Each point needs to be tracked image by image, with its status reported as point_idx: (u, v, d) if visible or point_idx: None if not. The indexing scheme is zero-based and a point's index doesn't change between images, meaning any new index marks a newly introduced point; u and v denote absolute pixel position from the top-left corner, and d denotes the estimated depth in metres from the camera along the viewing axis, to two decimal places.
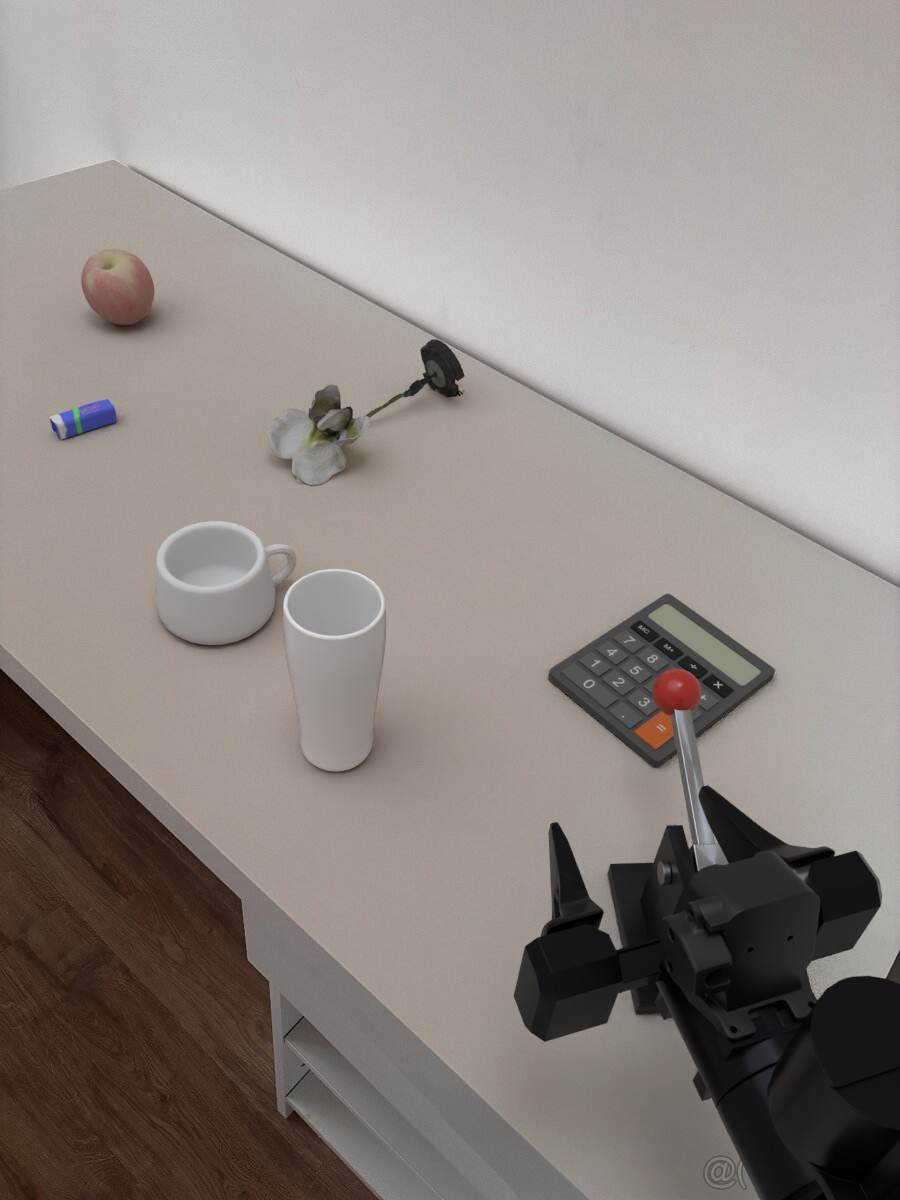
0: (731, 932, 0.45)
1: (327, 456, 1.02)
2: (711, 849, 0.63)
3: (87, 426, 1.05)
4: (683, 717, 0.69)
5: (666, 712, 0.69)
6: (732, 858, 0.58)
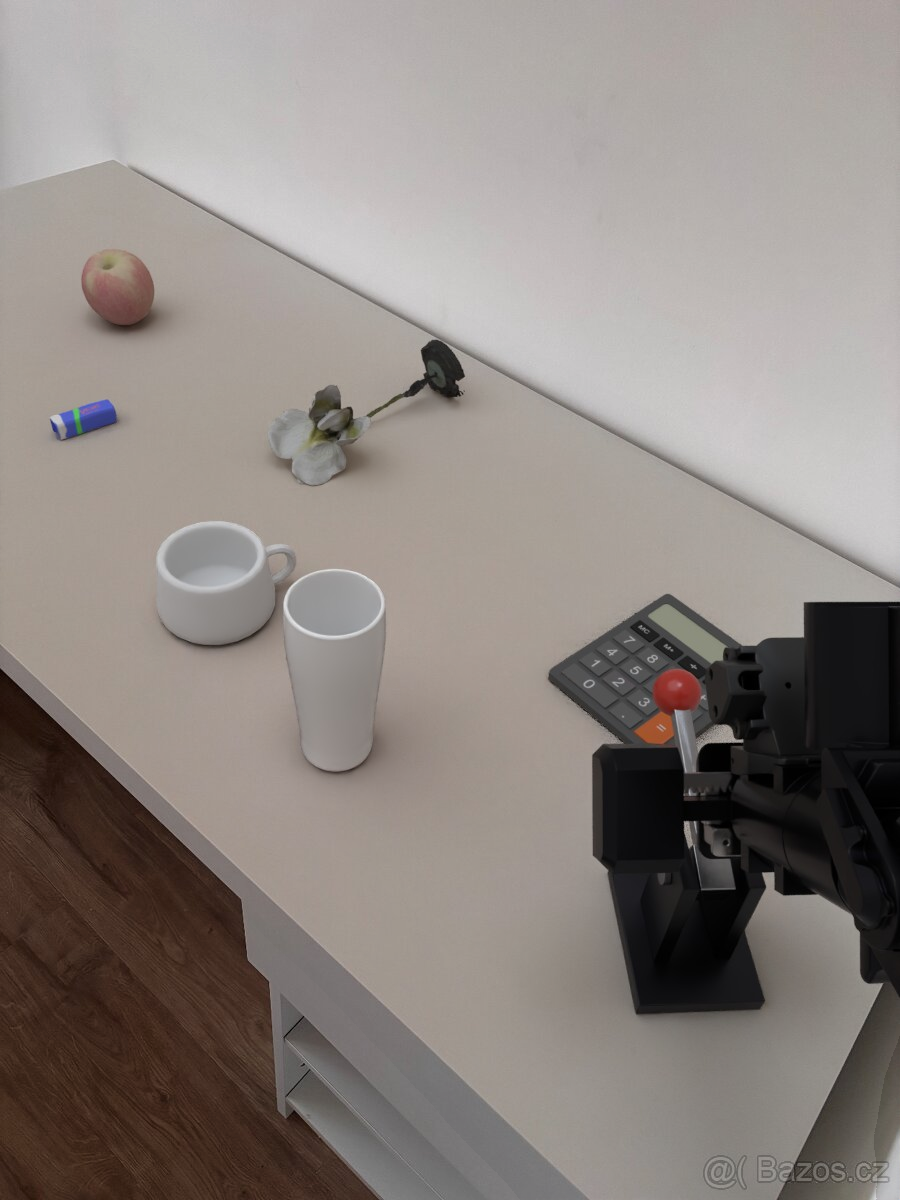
0: (763, 658, 0.50)
1: (327, 456, 1.02)
2: None
3: (87, 426, 1.05)
4: (683, 717, 0.69)
5: (666, 712, 0.69)
6: None
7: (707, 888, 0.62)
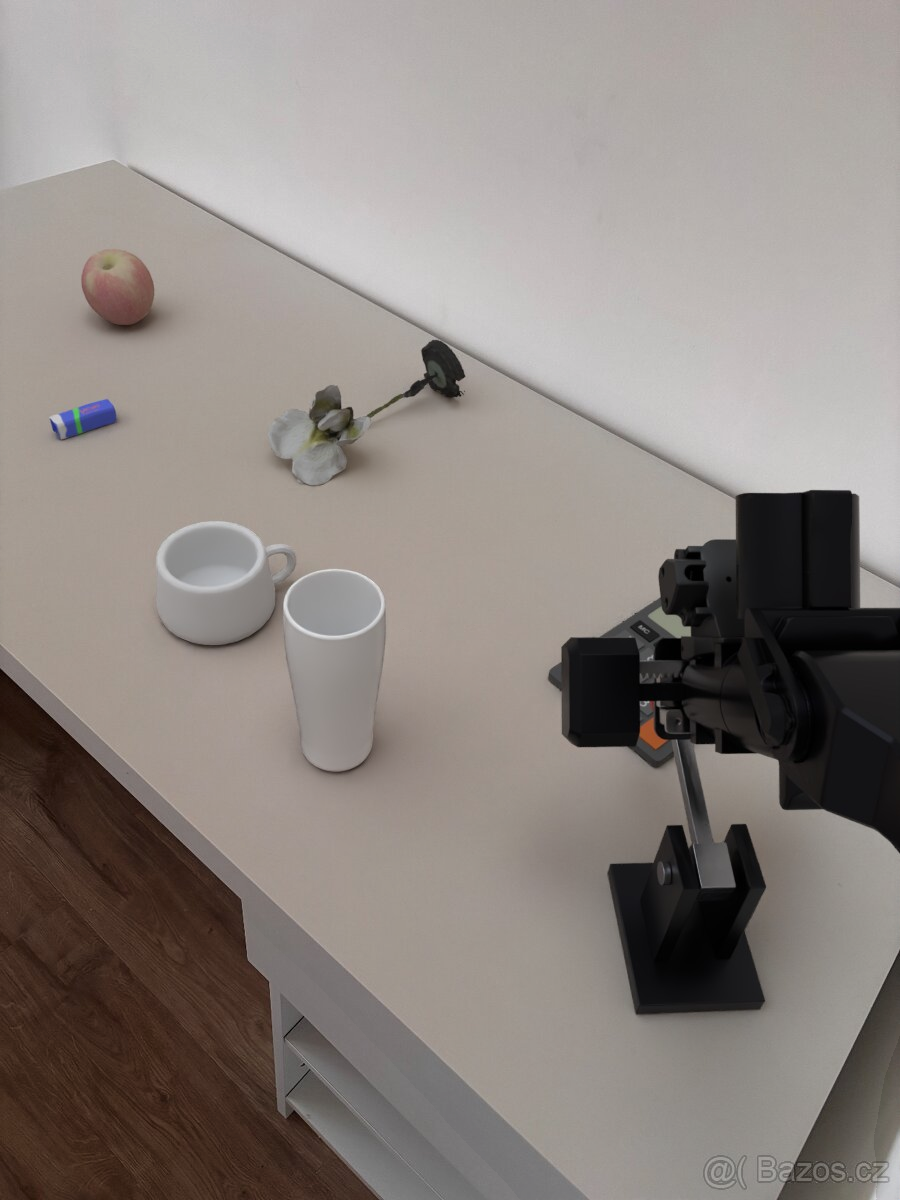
0: (707, 556, 0.58)
1: (327, 457, 1.02)
2: (710, 848, 0.63)
3: (87, 426, 1.05)
4: None
5: None
6: None
7: (707, 885, 0.62)
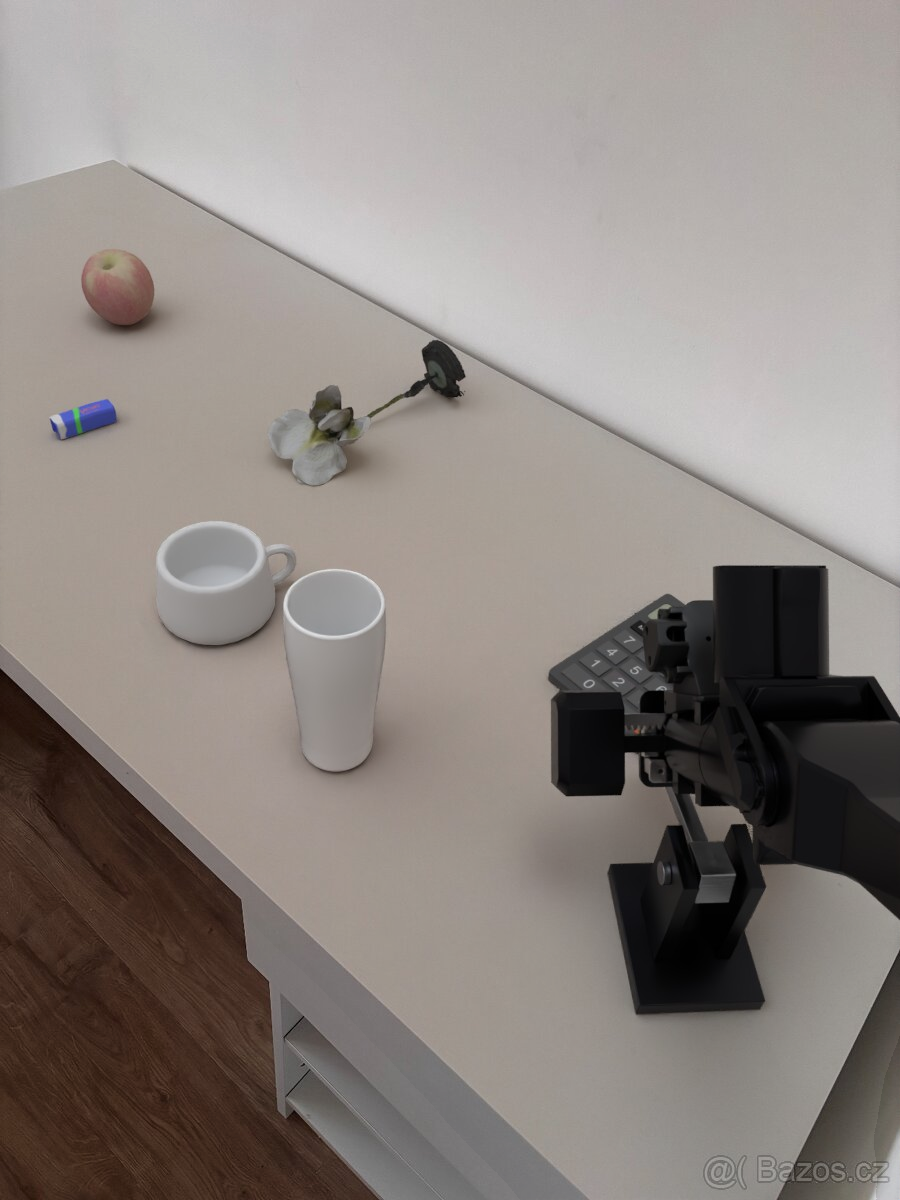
0: (688, 617, 0.61)
1: (327, 457, 1.02)
2: (707, 845, 0.64)
3: (87, 426, 1.05)
4: None
5: None
6: None
7: (707, 874, 0.62)
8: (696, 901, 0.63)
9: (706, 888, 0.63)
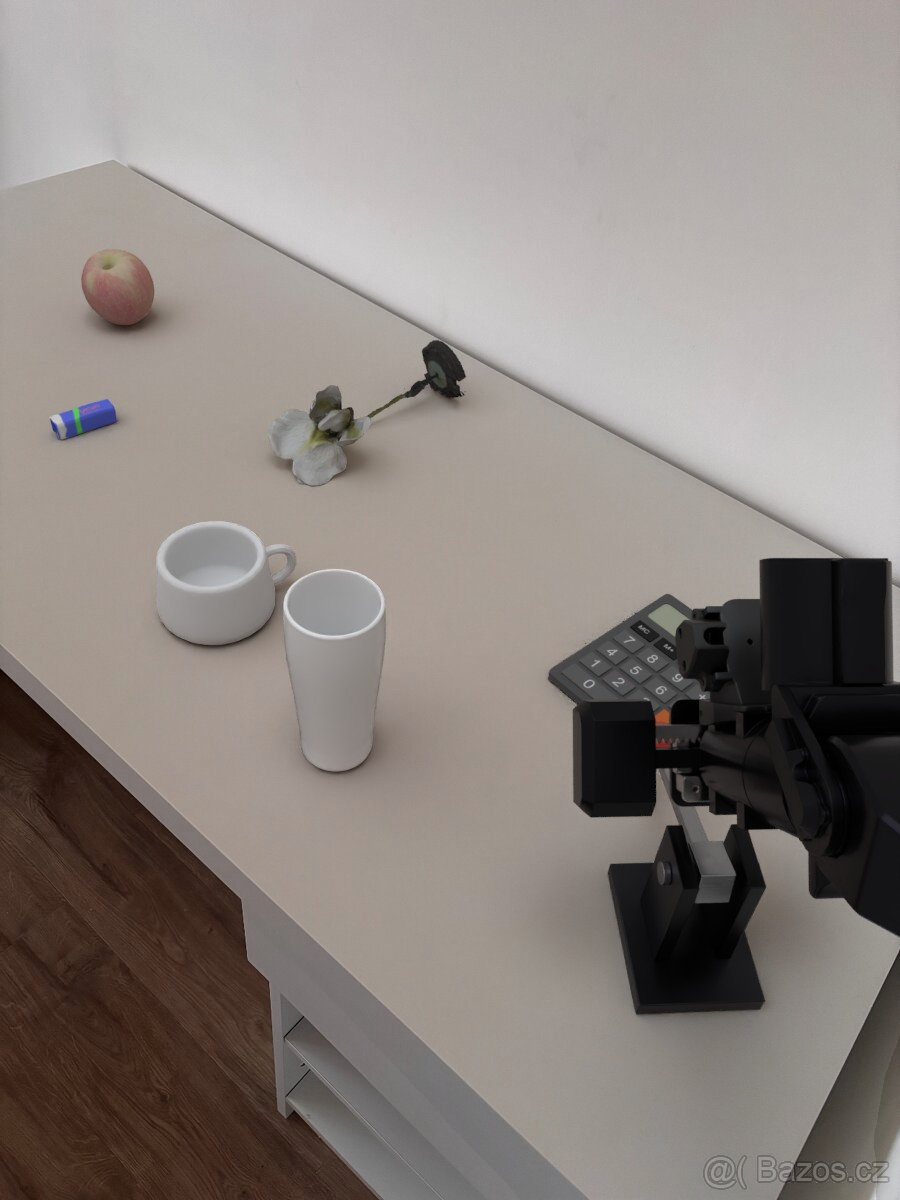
0: (727, 617, 0.55)
1: (328, 457, 1.02)
2: (707, 845, 0.64)
3: (87, 426, 1.05)
4: None
5: None
6: None
7: (707, 874, 0.62)
8: (696, 901, 0.63)
9: (706, 888, 0.63)
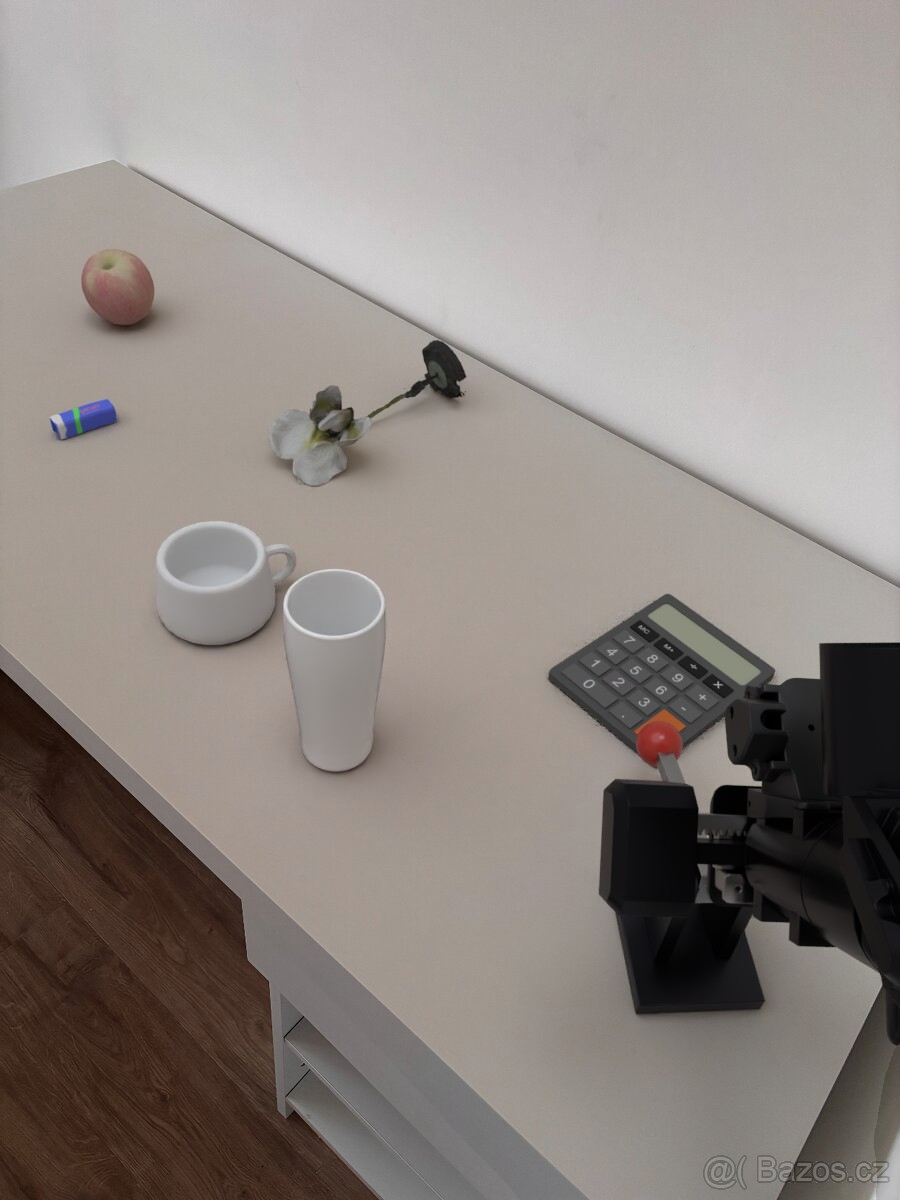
0: (786, 698, 0.49)
1: (328, 457, 1.02)
2: None
3: (87, 426, 1.05)
4: (667, 757, 0.72)
5: (651, 759, 0.73)
6: None
7: None
8: (696, 901, 0.63)
9: (706, 888, 0.63)
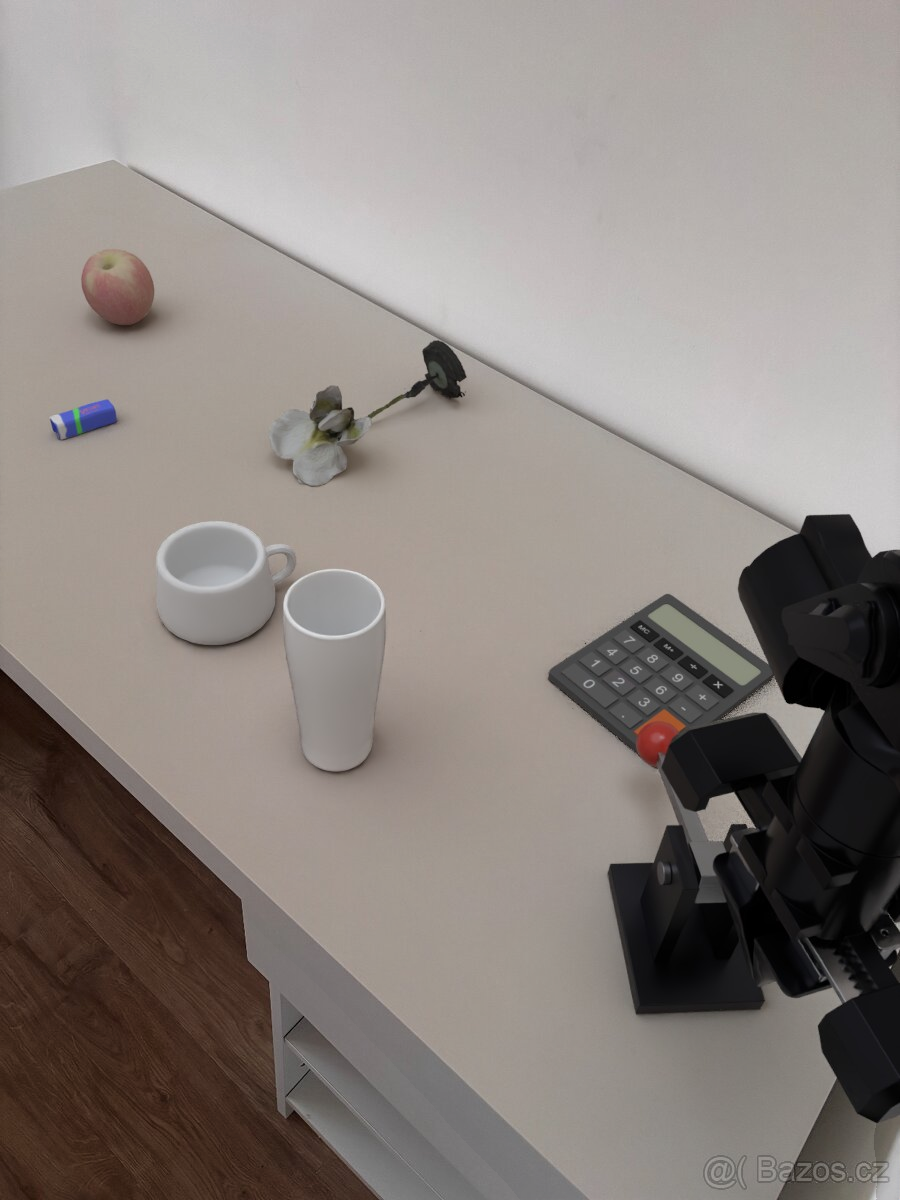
0: None
1: (328, 457, 1.02)
2: (707, 845, 0.64)
3: (87, 426, 1.05)
4: None
5: (651, 759, 0.73)
6: None
7: (707, 874, 0.62)
8: (696, 901, 0.63)
9: (706, 888, 0.63)
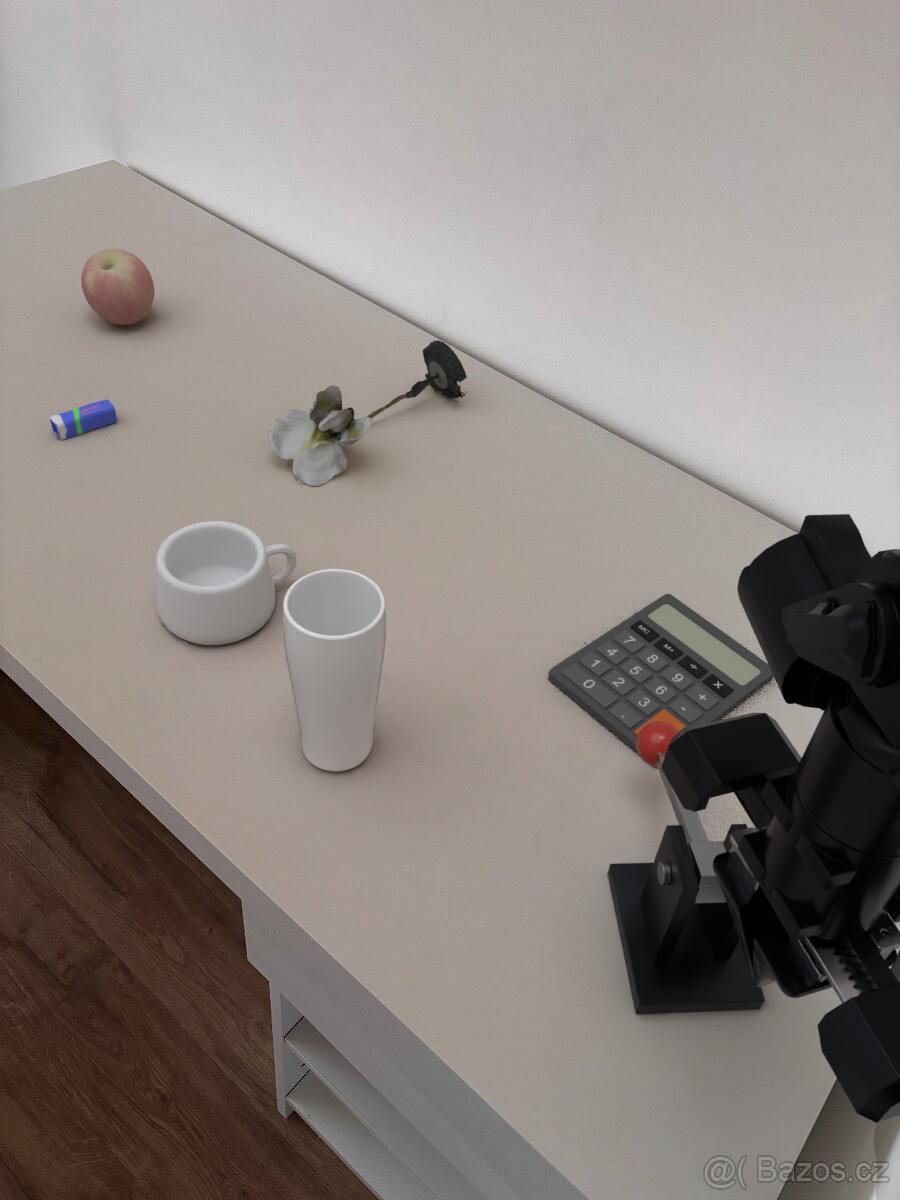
0: None
1: (328, 457, 1.02)
2: (707, 845, 0.64)
3: (87, 426, 1.05)
4: None
5: (651, 759, 0.73)
6: None
7: (707, 874, 0.62)
8: (696, 901, 0.63)
9: (706, 888, 0.63)
